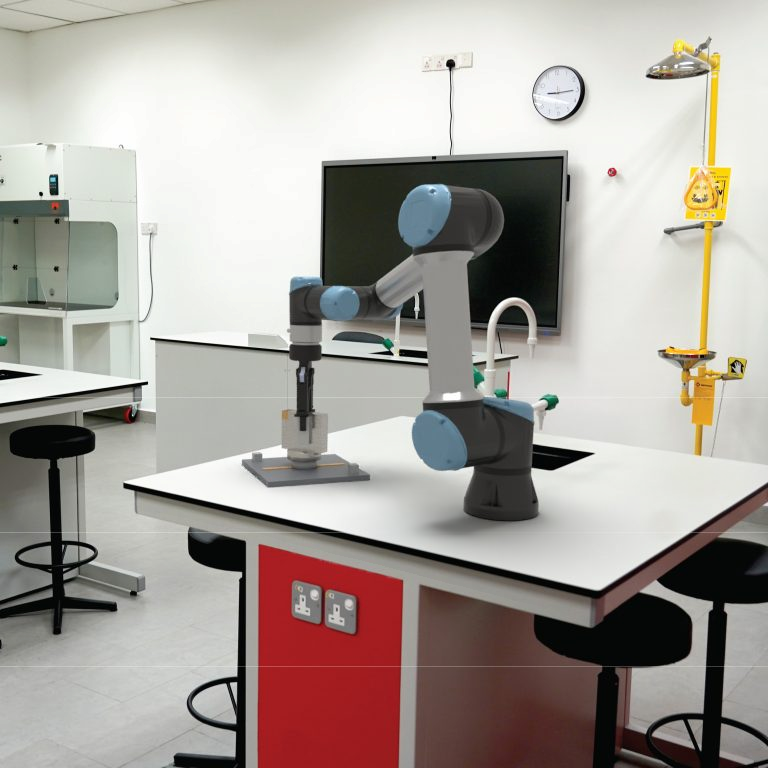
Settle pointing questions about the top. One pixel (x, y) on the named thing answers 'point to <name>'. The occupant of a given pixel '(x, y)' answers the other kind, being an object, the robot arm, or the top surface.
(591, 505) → the top surface
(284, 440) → the grey block knob
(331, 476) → the post plate
